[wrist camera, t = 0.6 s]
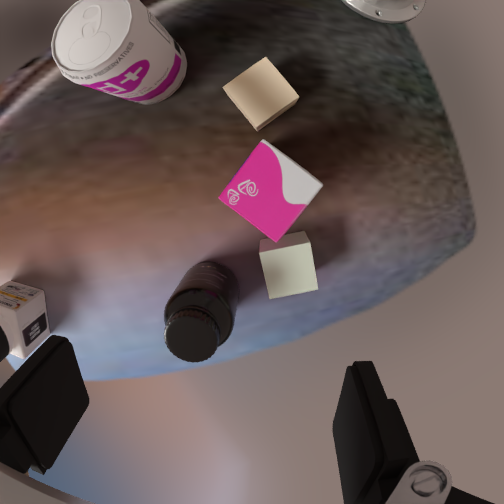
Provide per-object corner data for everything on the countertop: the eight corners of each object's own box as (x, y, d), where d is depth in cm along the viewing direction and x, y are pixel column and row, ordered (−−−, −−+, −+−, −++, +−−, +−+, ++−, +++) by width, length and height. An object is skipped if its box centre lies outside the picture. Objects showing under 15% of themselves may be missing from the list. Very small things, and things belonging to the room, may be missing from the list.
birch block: (265, 69, 31) (265, 56, 26) (294, 104, 32) (299, 96, 27) (228, 96, 32) (222, 87, 27) (257, 131, 33) (255, 127, 28)
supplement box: (265, 142, 33) (264, 135, 22) (309, 176, 34) (328, 186, 23) (232, 185, 35) (216, 199, 24) (275, 218, 35) (280, 247, 25)
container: (44, 289, 40) (-11, 331, 27) (51, 334, 42) (4, 381, 29) (9, 279, 40) (-45, 314, 27) (17, 322, 42) (-31, 362, 29)
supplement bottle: (239, 315, 39) (228, 376, 28) (184, 310, 39) (155, 368, 28) (241, 261, 37) (230, 309, 26) (182, 257, 37) (148, 301, 26)
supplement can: (190, 99, 32) (139, 64, 18) (121, 110, 33) (42, 92, 18) (187, 34, 30) (142, -28, 15) (121, 48, 30) (50, 5, 16)
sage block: (304, 230, 36) (310, 242, 31) (311, 272, 37) (318, 289, 32) (260, 239, 36) (259, 252, 32) (269, 280, 38) (269, 299, 33)
